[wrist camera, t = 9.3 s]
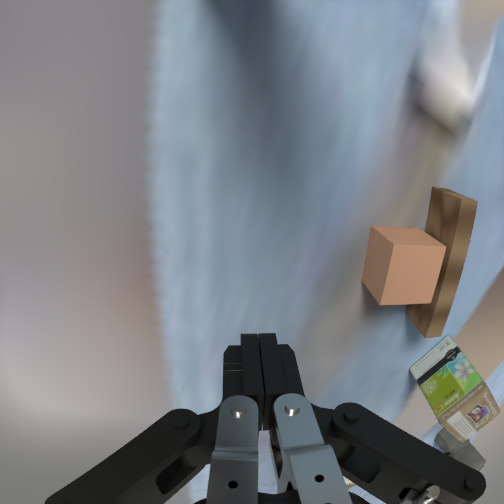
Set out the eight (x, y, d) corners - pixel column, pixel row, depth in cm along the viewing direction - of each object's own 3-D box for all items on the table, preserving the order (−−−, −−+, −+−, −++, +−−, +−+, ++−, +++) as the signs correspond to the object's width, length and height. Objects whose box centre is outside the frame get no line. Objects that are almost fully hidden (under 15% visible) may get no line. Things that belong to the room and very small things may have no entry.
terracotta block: (371, 225, 41) (393, 244, 34) (419, 228, 41) (446, 246, 35) (361, 280, 44) (379, 305, 37) (408, 279, 44) (430, 303, 38)
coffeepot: (472, 419, 63) (500, 464, 46) (451, 441, 66) (475, 486, 49) (440, 419, 60) (469, 473, 43) (417, 443, 63) (441, 496, 46)
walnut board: (432, 187, 39) (461, 199, 32) (448, 189, 39) (477, 201, 33) (405, 313, 46) (424, 338, 40) (420, 311, 46) (440, 336, 40)
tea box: (406, 368, 51) (440, 426, 38) (447, 332, 49) (490, 385, 35) (433, 396, 56) (462, 445, 42) (469, 366, 53) (503, 411, 40)
